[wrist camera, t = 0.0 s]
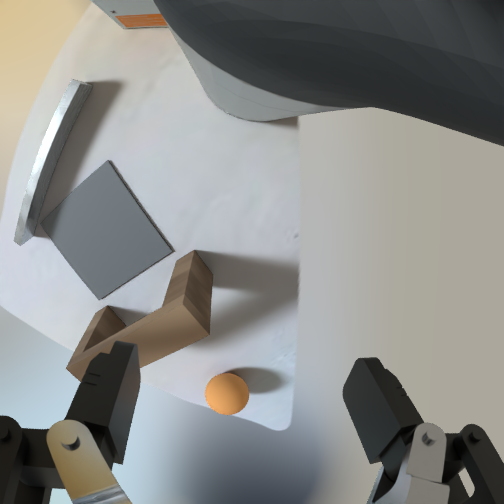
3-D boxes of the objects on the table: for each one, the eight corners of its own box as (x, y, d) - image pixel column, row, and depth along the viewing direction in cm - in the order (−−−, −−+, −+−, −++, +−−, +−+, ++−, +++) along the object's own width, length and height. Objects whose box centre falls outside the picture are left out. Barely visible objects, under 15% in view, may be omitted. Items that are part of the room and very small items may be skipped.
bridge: (212, 274, 27) (209, 334, 19) (113, 332, 29) (90, 390, 21) (194, 249, 26) (182, 303, 18) (95, 312, 28) (65, 368, 20)
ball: (207, 362, 32) (205, 395, 27) (250, 365, 33) (254, 398, 28) (204, 389, 34) (203, 421, 29) (244, 392, 34) (247, 423, 30)
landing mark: (172, 250, 26) (171, 251, 26) (99, 299, 27) (99, 300, 27) (108, 160, 22) (107, 160, 22) (41, 223, 24) (40, 223, 23)
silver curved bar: (85, 82, 19) (71, 79, 17) (93, 86, 19) (80, 83, 17) (26, 231, 24) (13, 240, 21) (33, 236, 24) (20, 246, 22)
